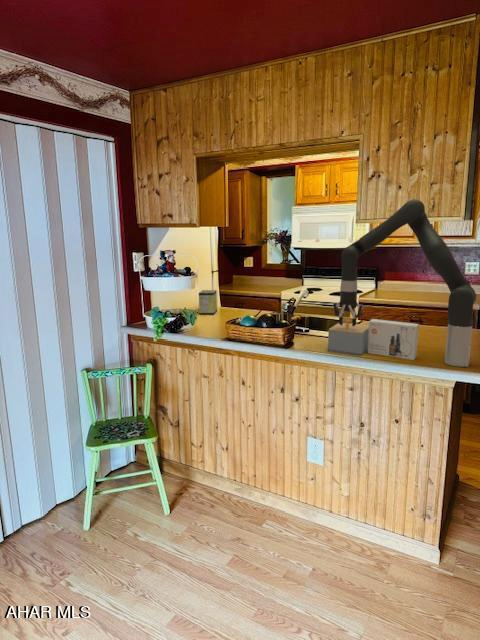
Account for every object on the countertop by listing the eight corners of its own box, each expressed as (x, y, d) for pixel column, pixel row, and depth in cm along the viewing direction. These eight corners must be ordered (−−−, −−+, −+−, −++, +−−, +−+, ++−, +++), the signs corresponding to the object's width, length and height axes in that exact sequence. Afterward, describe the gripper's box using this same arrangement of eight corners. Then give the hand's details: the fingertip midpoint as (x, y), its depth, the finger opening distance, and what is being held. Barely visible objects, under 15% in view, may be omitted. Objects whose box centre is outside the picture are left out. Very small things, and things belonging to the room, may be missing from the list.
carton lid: (371, 327, 209) (371, 314, 208) (362, 334, 196) (363, 320, 195) (339, 323, 217) (339, 311, 216) (328, 330, 204) (329, 317, 203)
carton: (370, 347, 211) (371, 327, 209) (361, 355, 198) (362, 334, 196) (338, 343, 219) (339, 324, 217) (327, 351, 206) (328, 331, 204)
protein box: (217, 310, 311) (216, 289, 308) (214, 315, 296) (213, 292, 293) (203, 310, 312) (202, 289, 309) (199, 315, 297) (198, 293, 294)
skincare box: (366, 353, 201) (368, 320, 198) (370, 350, 205) (372, 318, 202) (414, 360, 189) (416, 325, 186) (416, 357, 194) (419, 323, 190)
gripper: (366, 289, 198) (364, 325, 202) (336, 288, 205) (335, 322, 209) (362, 291, 192) (360, 328, 195) (331, 290, 199) (330, 325, 202)
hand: (347, 325), depth 202 cm, fingers closed on carton lid, 5 cm apart
